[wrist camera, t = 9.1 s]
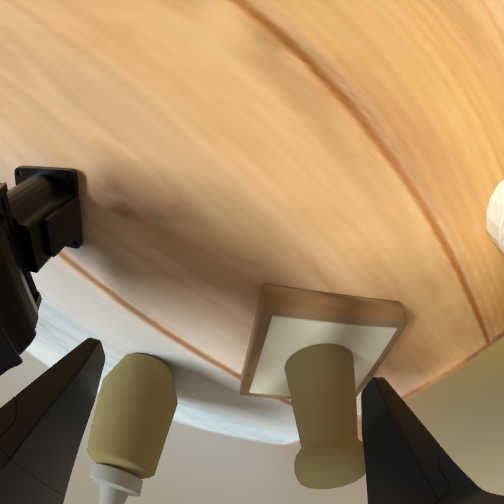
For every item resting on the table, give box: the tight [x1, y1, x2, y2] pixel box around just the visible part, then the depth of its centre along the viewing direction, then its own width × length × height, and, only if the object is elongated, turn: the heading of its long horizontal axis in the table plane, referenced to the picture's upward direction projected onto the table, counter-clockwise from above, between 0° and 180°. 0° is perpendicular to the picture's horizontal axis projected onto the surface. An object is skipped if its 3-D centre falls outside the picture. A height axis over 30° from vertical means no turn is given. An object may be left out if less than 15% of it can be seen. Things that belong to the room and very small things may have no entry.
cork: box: [284, 343, 366, 489], centre depth 20 cm, size 6×6×11 cm
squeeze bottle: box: [87, 353, 178, 504], centre depth 22 cm, size 8×8×18 cm
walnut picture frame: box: [240, 284, 408, 399], centre depth 26 cm, size 12×12×3 cm
